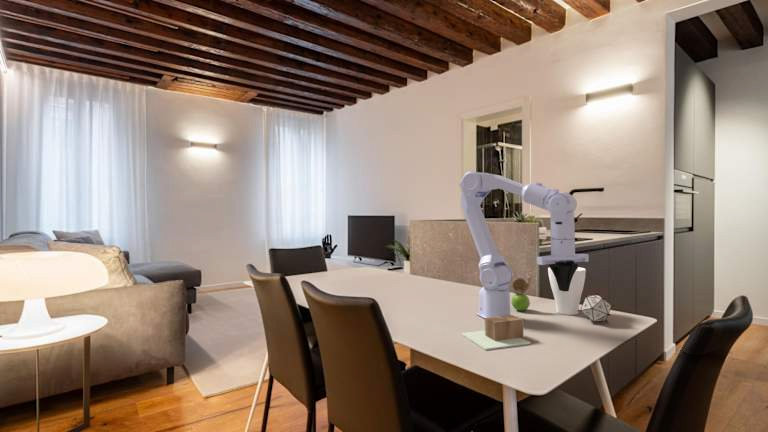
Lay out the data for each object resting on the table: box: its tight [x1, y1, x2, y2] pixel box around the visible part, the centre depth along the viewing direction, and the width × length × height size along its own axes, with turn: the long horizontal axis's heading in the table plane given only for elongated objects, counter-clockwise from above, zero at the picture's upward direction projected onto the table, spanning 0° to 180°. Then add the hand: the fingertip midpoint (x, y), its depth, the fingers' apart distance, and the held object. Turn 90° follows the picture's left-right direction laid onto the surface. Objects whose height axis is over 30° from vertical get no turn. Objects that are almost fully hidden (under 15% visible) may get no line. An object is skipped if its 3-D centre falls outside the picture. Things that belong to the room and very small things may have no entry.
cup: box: [547, 266, 587, 316], centre depth 118 cm, size 10×10×14 cm
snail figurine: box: [511, 272, 533, 312], centre depth 122 cm, size 5×6×12 cm
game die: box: [578, 292, 615, 325], centre depth 107 cm, size 9×8×10 cm
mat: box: [460, 329, 532, 351], centre depth 95 cm, size 12×12×1 cm
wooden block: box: [484, 314, 525, 341], centre depth 96 cm, size 4×4×8 cm
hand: (563, 290), depth 101 cm, fingers closed
